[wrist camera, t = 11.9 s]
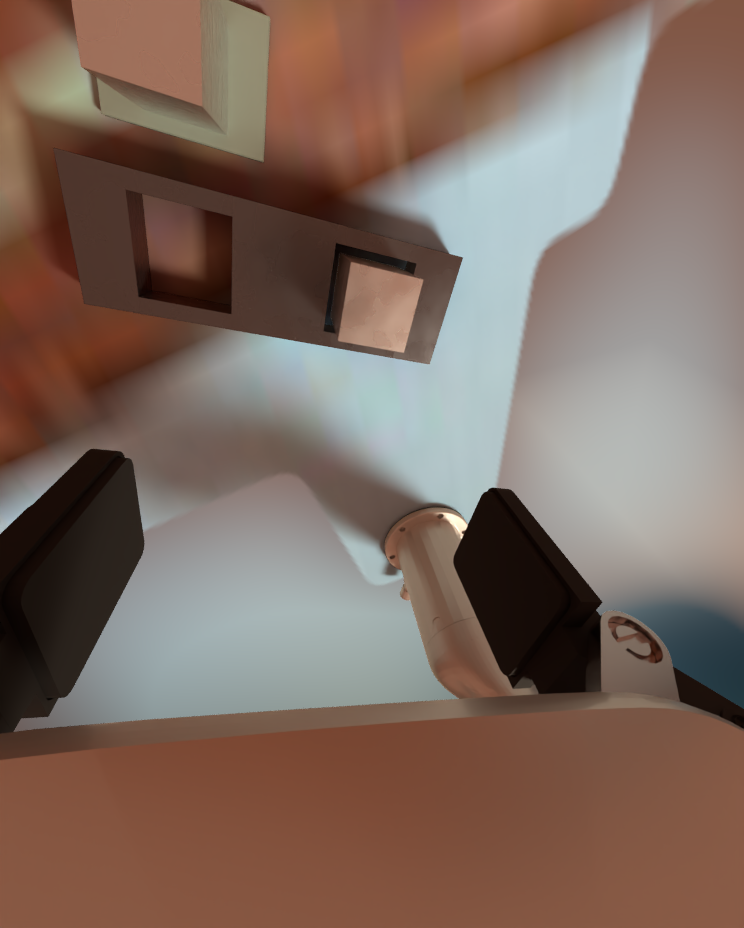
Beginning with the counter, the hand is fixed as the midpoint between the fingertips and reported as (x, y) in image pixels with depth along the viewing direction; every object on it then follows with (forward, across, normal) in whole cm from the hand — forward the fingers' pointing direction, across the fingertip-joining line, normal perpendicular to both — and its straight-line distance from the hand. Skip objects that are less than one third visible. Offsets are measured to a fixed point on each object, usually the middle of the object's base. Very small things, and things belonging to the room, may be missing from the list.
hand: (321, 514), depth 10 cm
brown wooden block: (+27, -4, -3) cm, 28 cm away
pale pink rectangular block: (+26, +10, -14) cm, 31 cm away
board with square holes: (+27, +3, -3) cm, 27 cm away
